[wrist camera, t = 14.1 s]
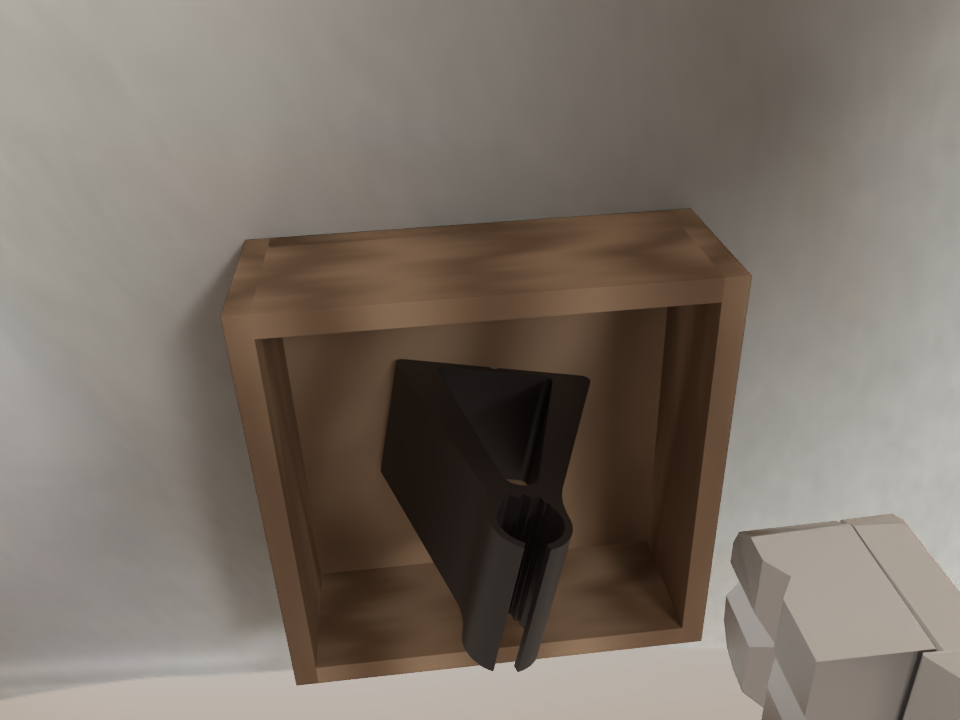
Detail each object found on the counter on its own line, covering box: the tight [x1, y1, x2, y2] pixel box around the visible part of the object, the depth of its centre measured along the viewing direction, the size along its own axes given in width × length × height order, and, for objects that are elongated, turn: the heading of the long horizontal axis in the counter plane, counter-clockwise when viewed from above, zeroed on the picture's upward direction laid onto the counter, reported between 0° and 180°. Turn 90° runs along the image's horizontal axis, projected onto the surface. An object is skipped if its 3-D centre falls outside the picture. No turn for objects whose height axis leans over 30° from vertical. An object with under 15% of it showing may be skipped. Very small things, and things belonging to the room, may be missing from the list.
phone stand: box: [381, 359, 590, 672], centre depth 35 cm, size 9×6×12 cm, turn 80°
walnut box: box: [220, 209, 752, 685], centre depth 39 cm, size 19×19×7 cm
